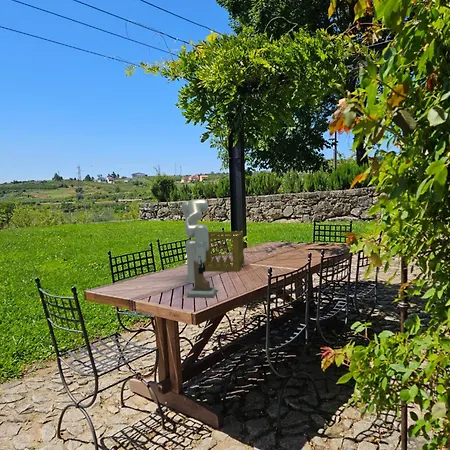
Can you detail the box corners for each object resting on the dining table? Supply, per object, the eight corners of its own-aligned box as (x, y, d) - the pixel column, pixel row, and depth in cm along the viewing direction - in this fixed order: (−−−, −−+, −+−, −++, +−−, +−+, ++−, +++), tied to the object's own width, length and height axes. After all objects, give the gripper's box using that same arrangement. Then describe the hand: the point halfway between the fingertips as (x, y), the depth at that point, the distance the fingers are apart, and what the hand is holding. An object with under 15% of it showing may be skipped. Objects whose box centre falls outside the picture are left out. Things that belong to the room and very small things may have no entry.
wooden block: (210, 287, 255) (208, 260, 253) (206, 289, 251) (204, 262, 249) (198, 286, 260) (197, 259, 258) (194, 288, 256) (193, 261, 254)
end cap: (192, 291, 265) (192, 286, 265) (217, 291, 262) (217, 286, 262) (187, 297, 249) (186, 292, 249) (213, 297, 247) (213, 292, 246)
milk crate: (206, 263, 367) (205, 231, 364) (244, 263, 361) (243, 231, 358) (197, 271, 332) (196, 236, 329) (239, 271, 326) (238, 235, 323)
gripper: (198, 243, 262) (199, 270, 264) (192, 246, 245) (193, 275, 247) (209, 243, 261) (210, 270, 263) (203, 246, 244) (205, 275, 246)
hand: (201, 272), depth 255 cm, fingers closed on wooden block, 5 cm apart
